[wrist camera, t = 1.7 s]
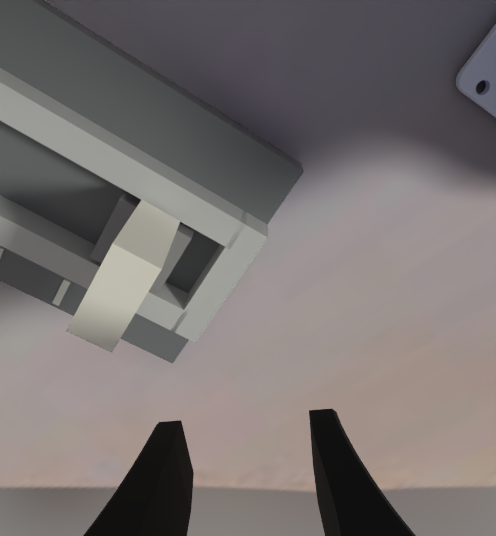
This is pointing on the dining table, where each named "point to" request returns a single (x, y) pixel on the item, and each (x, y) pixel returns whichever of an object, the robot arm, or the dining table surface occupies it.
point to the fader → (128, 268)
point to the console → (121, 173)
